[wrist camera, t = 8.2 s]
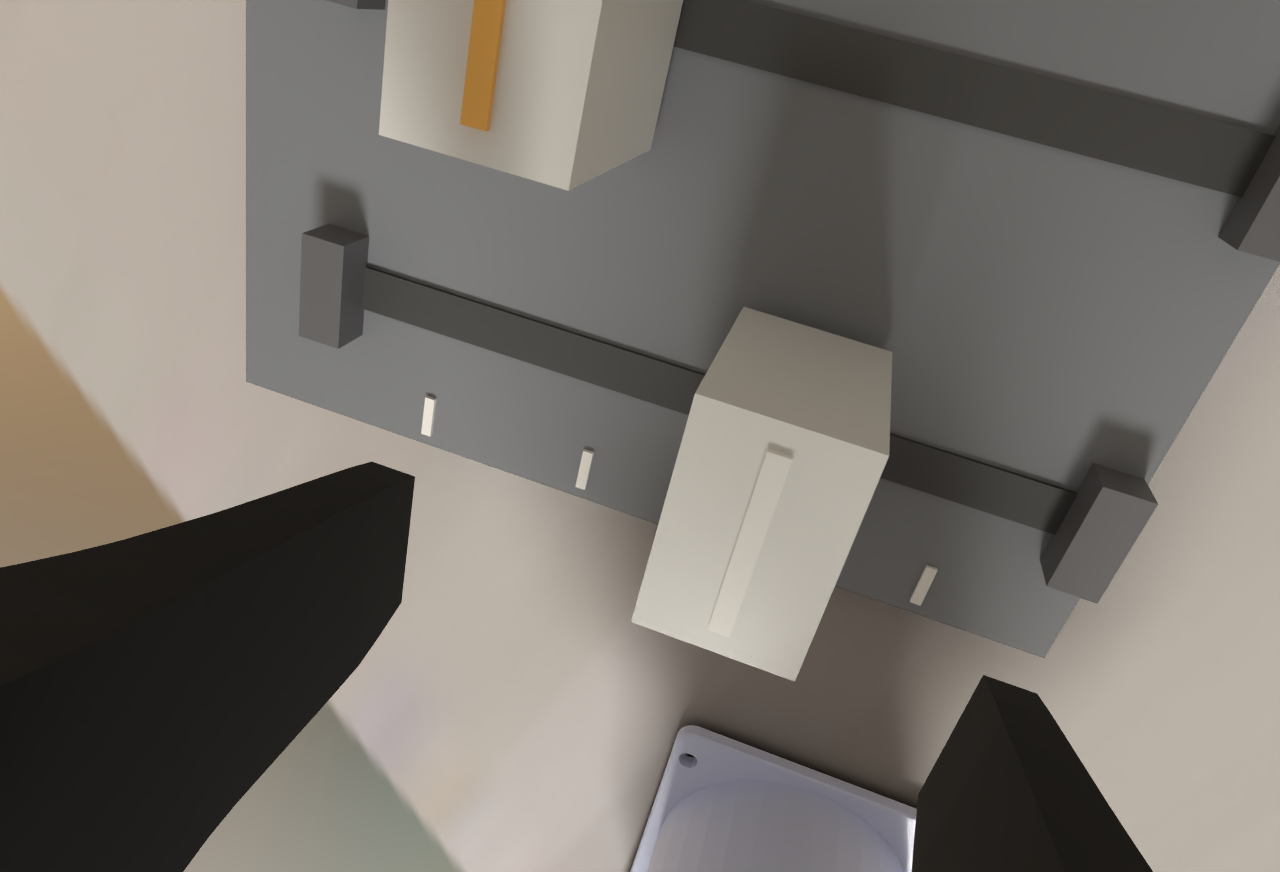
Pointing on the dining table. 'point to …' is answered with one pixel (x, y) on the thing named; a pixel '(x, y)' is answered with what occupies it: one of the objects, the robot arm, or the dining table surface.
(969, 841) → the robot arm
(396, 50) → the fader knob
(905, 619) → the dining table surface
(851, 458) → the fader knob
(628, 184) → the console board
